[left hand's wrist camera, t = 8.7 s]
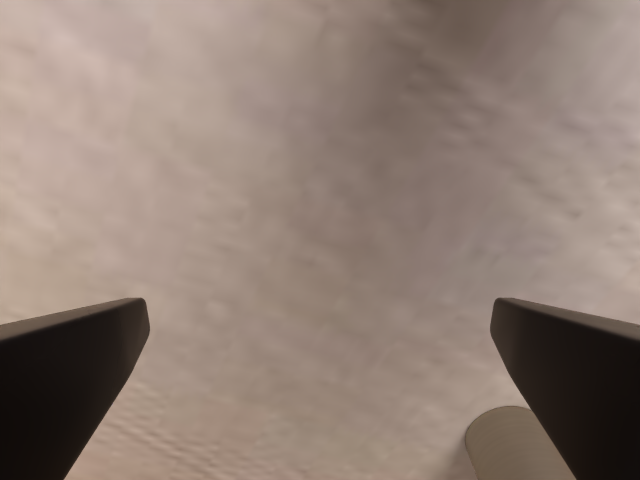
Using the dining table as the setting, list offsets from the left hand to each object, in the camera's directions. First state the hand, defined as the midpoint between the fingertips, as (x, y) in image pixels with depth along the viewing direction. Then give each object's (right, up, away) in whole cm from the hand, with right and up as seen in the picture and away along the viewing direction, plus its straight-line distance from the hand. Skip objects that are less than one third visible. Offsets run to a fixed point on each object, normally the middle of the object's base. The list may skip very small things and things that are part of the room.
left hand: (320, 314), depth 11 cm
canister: (+9, -8, +11) cm, 16 cm away
